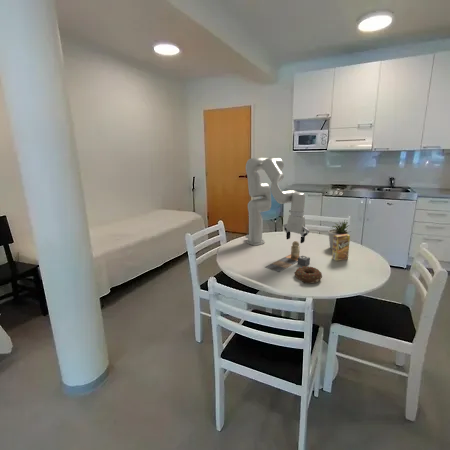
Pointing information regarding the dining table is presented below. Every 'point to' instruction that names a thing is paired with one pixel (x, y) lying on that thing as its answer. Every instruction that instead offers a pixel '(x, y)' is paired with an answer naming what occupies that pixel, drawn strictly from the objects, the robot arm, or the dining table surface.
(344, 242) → the candy box
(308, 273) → the donut
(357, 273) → the dining table surface
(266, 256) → the dining table surface
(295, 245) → the pawn
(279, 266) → the board
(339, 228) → the potted plant
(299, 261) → the die
